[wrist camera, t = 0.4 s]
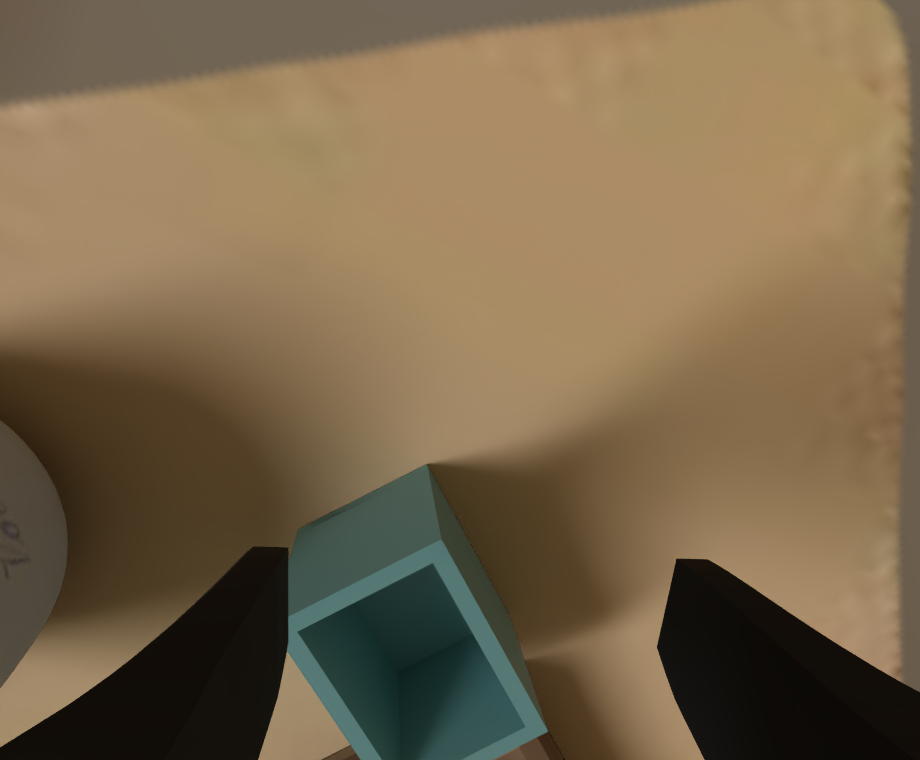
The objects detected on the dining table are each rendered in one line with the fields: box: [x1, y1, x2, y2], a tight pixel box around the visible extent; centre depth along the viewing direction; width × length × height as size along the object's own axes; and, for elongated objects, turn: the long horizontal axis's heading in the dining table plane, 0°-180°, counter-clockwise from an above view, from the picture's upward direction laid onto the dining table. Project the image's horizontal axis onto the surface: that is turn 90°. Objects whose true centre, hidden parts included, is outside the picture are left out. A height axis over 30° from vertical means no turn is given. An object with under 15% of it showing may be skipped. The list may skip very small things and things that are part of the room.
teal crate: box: [287, 464, 548, 760], centre depth 20 cm, size 5×7×6 cm
